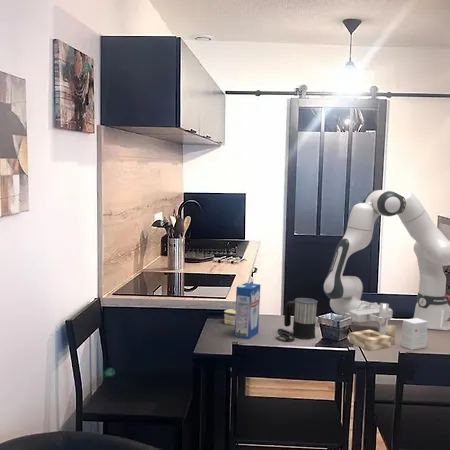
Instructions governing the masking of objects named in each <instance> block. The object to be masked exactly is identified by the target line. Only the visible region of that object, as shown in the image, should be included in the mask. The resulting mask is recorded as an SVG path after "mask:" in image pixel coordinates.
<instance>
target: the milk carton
mask: <svg viewBox="0 0 450 450" xmlns="http://www.w3.org/2000/svg"><path fill="white" fill-rule="evenodd" d="M235 291H236V292H235V293H236V294H235V296H236V299H235V310H236V314H235V325H234V337H236V338H241V339H247V340H249V339H251V338H253V337H254V336H256V335H257V334H259V323H260V321H259V320H260V305H261V304H260V302H261V300H260V299H261V284H259V283H253V282H252V283H249V282H245V283H242V284H240V285H238V286H236V290H235Z"/></svg>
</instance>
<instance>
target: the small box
mask: <svg viewBox="0 0 450 450" xmlns="http://www.w3.org/2000/svg"><path fill="white" fill-rule="evenodd" d="M413 318H414V317H413ZM401 328H402V330H401V331H402V332H401V343H400V345H401V347H403V348H406V349H408V350H410V351H414V350H417V349H425V348H427V342H428V341H427V340H428V339H427V338H428V321H425V320H422V319H419V318H414V319H412V318H409V319H408V318H407V319H403V320H402V327H401Z"/></svg>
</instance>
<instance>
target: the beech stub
mask: <svg viewBox="0 0 450 450" xmlns="http://www.w3.org/2000/svg"><path fill="white" fill-rule="evenodd" d="M386 335H387V336H390V337H391V346H392V345H395V342H396V341H395V340H396V339H395V337H396V325H393V324H388V325H387V333H386Z"/></svg>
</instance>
